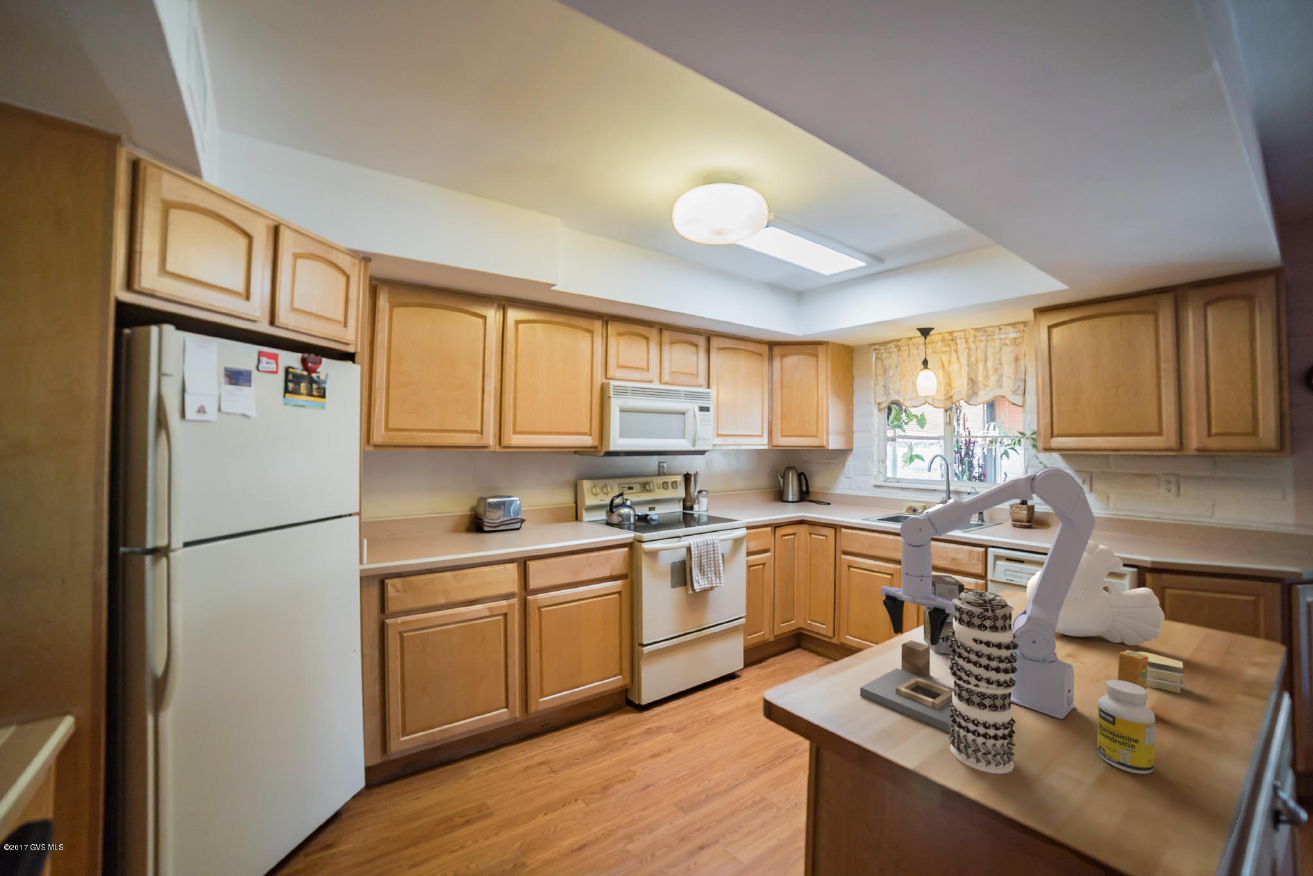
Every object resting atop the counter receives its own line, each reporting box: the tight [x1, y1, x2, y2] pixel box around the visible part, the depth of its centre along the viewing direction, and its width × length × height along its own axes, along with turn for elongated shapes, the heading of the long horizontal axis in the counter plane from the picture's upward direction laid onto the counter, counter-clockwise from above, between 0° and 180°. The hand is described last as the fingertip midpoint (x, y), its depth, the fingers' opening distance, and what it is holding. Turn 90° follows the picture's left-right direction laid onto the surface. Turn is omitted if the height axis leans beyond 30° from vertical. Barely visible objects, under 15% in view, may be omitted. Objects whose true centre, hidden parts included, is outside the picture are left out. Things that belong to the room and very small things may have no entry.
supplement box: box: [1117, 649, 1148, 704], centre depth 96 cm, size 3×3×10 cm
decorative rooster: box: [1026, 540, 1166, 646], centre depth 128 cm, size 25×16×25 cm
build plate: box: [859, 667, 954, 734], centre depth 97 cm, size 18×14×2 cm
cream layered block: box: [1136, 651, 1184, 694], centre depth 105 cm, size 10×9×6 cm
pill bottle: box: [1096, 679, 1156, 775], centre depth 79 cm, size 6×6×12 cm
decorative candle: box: [948, 589, 1019, 775], centre depth 80 cm, size 9×9×25 cm
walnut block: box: [900, 639, 931, 678], centre depth 109 cm, size 4×4×6 cm
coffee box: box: [923, 574, 965, 655], centre depth 124 cm, size 9×6×16 cm
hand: (915, 638), depth 109 cm, fingers open, 7 cm apart
